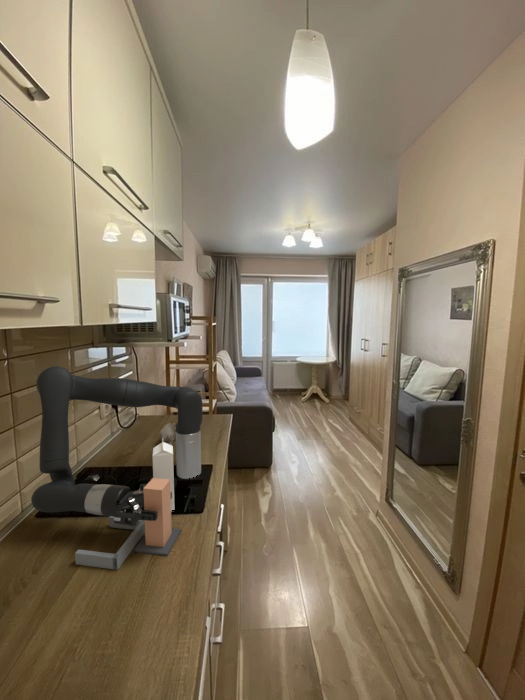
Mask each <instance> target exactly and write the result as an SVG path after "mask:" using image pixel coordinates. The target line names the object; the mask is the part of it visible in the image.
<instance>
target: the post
mask: <svg viewBox="0 0 525 700" xmlns="http://www.w3.org/2000/svg"><path fill="white" fill-rule="evenodd" d="M146 484H147V485H146V486H145V487H144V488H143V489H144V506H143V510H151V511H157V513H158V518H157V520H156V521H147V520H145V533H144V536H145V540H146V545H149V546H158V547H164V546H165V544H166V542H167V541H168V539H169V537H170V536H171V534H172V511H171V490H170V479H158V478H153V477H152V478H151V479H150V481H148V483H146Z"/></svg>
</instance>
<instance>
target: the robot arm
mask: <svg viewBox="0 0 525 700" xmlns="http://www.w3.org/2000/svg"><path fill="white" fill-rule="evenodd" d="M36 390H37V392H38V393H39V396H40V402H41V429H40V430H41V431H40V442H39V471H40V473H42V474H45V475H46V474H49V477H50V480H51V481H50V482H47V483H43V484H42V485H39V486H38V487H37V488H36V489H35V490H34V491H33V493H32V494H31V501H30V502H31V505H32V506H33V508H34V509H36V510H37V511H39V512H42V513H61V512H79V513H87V514H92V515H96V516H97V515H98V516H106V517H110V516H114V523H116V524H123V525H129V526H135V525H136V522H138V521H142V520H147V521H156V520H157V518H158V513H157V511H151V510H144V509H143V508H144V489H143V488H144V487H145V486H146V485H147V484H148V483H140V485H139V489H137V490H132V489H131V488H130V487H129V486H127V485H119V484H118V485H117V484H116V485H115V484H104V483H103V484H96V483H95V484H94V483H79V484H78V483H77V484H76V481H75V479H74V474H73V471H72V468H71V465H70V437H69V435H70V434H69V404H70V400H71V401H73V400H74V401H88V402H95V403H100V404H104V405H109V406H110V405H112V406H116V407H117V406H118V407H127V408H128V407H129V408H144V407H151V406H163V407H170V408H173V409H177V422H176V423H175V426H176V432H175V439H176V441H175V454H176V455H175V457H176V460H175V461H176V462H175V463H176V476H177V477H178V478H180V479H184V480H189V478H190V479H194V478H196V476H197V475H198V476H200V475H201V473H202V451H201V450H202V448H201V447H202V446H201V445H202V441H201V439H202V437H201V435H202V434H201V432H202V431H201V426H202V423H203V411H204V410H203V408H204V407H203V398H202V396H201V394H200V393H199V392H198V391H196V390H194V389H193V388H191V387H189V386H174V385H173V386H172V385H171V386H169V385H161V384H156V383H152V382H147V381H142V380H137V379H132V378H131V379H130V378H123V377H122V378H120V377H119V378H117V377H112V378H111V377H105V378H102V377H101V378H93V377H89V378H88V377H84V376H79V375H74V374H72V373H71V372H70V370H69V369H67V368H65V367H62V366H56V365H55V366H50V367H46V369H44V370H42V371H41V373H40V374H39V375H38V376H37V378H36ZM198 476H197V477H198ZM193 477H194V478H193ZM171 499H172V492H171ZM128 518H130V519H131V520H128Z"/></svg>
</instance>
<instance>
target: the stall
mask: <svg viewBox="0 0 525 700" xmlns="http://www.w3.org/2000/svg"><path fill="white" fill-rule="evenodd" d="M128 520H131V519H130V518H128ZM108 523H109V524H108V525H109V528H112V529H113V528H115V529H123V530H132V532H131V534H130V535H129V536H128V538H127V539H126V540H125V542H124V543H123V544H122V545H121V546H120V547H119V549H118V550H117V552H116V553H110V552H101V551H96V550H95V551H94V550H88V549H87V550H85V549H78V550H76V551H75V553H74V558H75V565H78V566H84V567H93V568H101V569H110V570H114V571H115V570H116V571H117V570H119V569H120V568H121V566H122V564H123V563H124V562H125V560H126V559H127V558H128V556H129V555H130V553H131V552H132V551H133V550H134V548H136V547H135V546H137V545H138V543H139V541H141V538H143V537H144V535H145V520H142V521H138V522H136V525H135V526H129V525H123V524H116V523H114V516H108Z"/></svg>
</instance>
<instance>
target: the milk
mask: <svg viewBox="0 0 525 700" xmlns="http://www.w3.org/2000/svg"><path fill="white" fill-rule="evenodd" d="M174 469H175V468H174V447H173V444H172V445H169V443H165V442H162V441H161V443H159V444H158V445H156V446H155V447H152V478H158V479H170V490H171V492H172V499H171V512H173V511H172V510H175V509H176V508H175V479H174V477H175V476H174Z"/></svg>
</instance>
